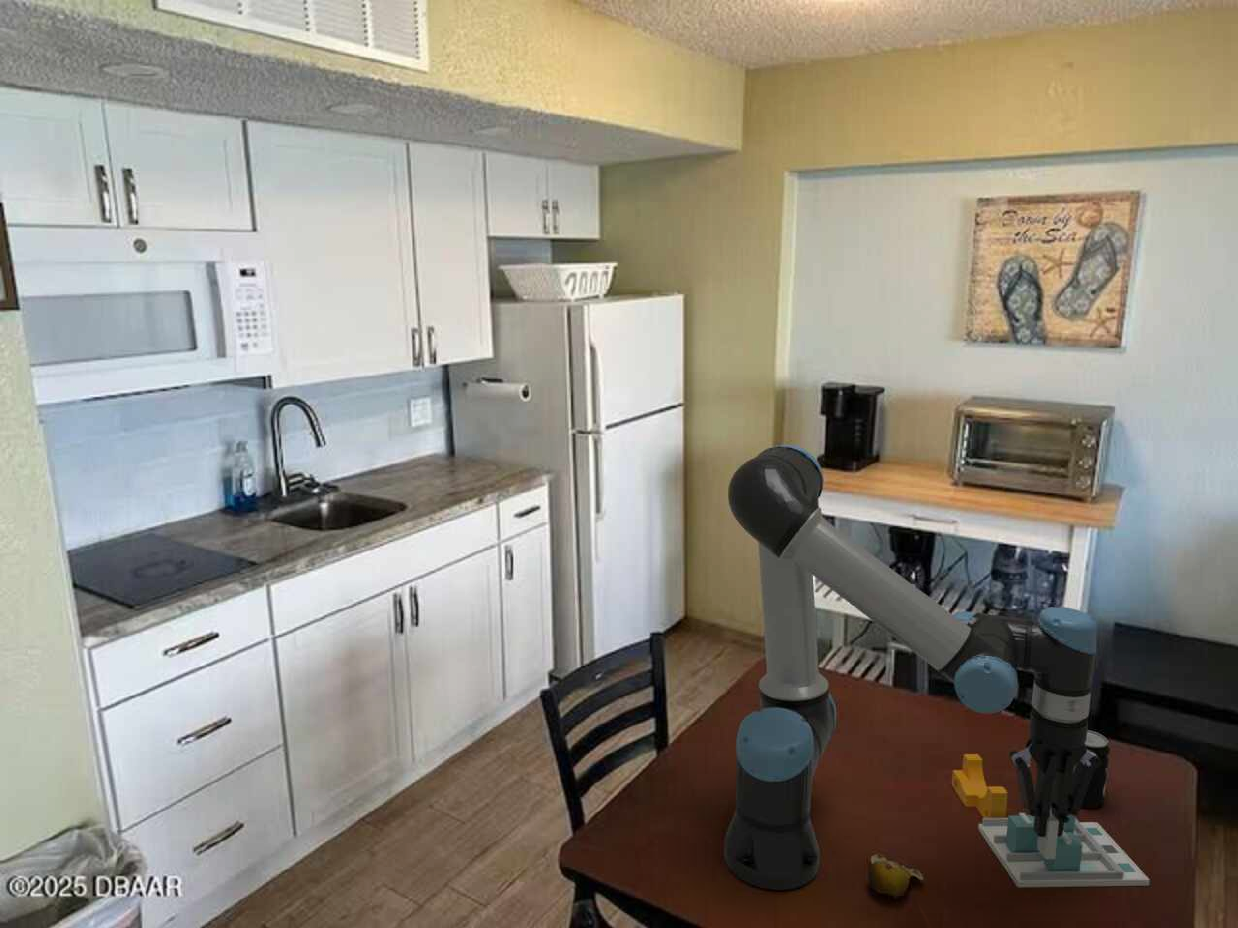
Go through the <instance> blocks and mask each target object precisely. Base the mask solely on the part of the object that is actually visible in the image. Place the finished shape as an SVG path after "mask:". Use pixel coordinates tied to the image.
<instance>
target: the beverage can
mask: <svg viewBox="0 0 1238 928" xmlns="http://www.w3.org/2000/svg"><path fill="white" fill-rule="evenodd" d="M1108 744H1109V742H1108V739H1107V738H1106V737H1105V736H1104V735H1102V734H1101V733H1099V732H1096V731H1093V730H1090V729H1087V738H1086V742H1085V745H1086V747H1087V750H1091V751H1092V752H1093V753H1095V754H1096V755H1097V756H1098V757H1099V758H1100V759H1101V761H1102V763H1101V764H1100V766H1099V767H1098V768H1097V769H1096V770H1095V772H1094V773H1093V776H1092V778H1091V781H1090V784H1089V786H1088V789H1087V792H1086V794H1085V797H1084V800H1083V802H1082V805H1081V808H1083V809H1095V808H1097V807H1100V806H1101V805H1103V804H1104V801H1105V794H1106V784H1107V777H1108V770H1109V769H1108V768H1109V760H1110V753H1111V750H1110V747H1109V745H1108ZM1075 767H1076V765H1075V766H1074V767H1073V772H1074V770H1075ZM1070 781H1071V779H1070Z"/></svg>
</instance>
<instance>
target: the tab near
mask: <svg viewBox="0 0 1238 928" xmlns="http://www.w3.org/2000/svg"><path fill="white" fill-rule="evenodd" d="M1082 846H1083V845H1082V844H1081V843H1080V841H1079V840H1078V839H1077V838H1076V837H1075V835H1074V834H1073V833H1072V832H1067V833H1065V832H1064V831H1063V834H1062V836H1061V837H1057V846H1056V856H1055V859H1045V858H1043V862H1044V863H1045V864H1046V866H1047V867H1048V868H1049V870H1050V871H1080V863H1081V855H1082Z"/></svg>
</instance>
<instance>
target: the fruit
mask: <svg viewBox="0 0 1238 928" xmlns="http://www.w3.org/2000/svg"><path fill="white" fill-rule="evenodd" d="M870 863H871V866H870V869H869V870H868V877H867V878H868V881H869V882H868V883H869V886H870V888H871V890H872V891H873V892H876V893H879V894H886V895H888V896H892V897H893V898H898V897H902V896H904V895H905V892H906V891H907V890H908V887H909V885H910V879H911V878H912V877H916V878H917V879H918V880H919V882H923V881H924V876H923V875H922V873H921V872H920V871H919V870H918V869H916V868H915V869H913V868H910V869H909V868H907V867H905V866H904V865H902V866H901V865H900V864H899V863H897V862H894V861H892V860H890V859H889V860H888V859H886V857H885V855H882V854H881V853H880V854H878V853H876V854H874V855H871V856H870Z"/></svg>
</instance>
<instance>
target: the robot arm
mask: <svg viewBox="0 0 1238 928" xmlns="http://www.w3.org/2000/svg"><path fill="white" fill-rule="evenodd" d="M824 481H825V480H824V472H823V468H822V466H821V465H820V463H819V461H818V460H817V458H816V457H815V456H813V454H812V453H811V452H809V451H808V450H806V449H804V448H803V447H800V446H797V445H792V444H781V445H776V446H770V447H769V448H766V449H764V450H763V451H761V452H759V454H757V456H755V457H754V458H752V459H751V458H750V459H749V460H747V461H745V462H744V463H743V464H742V465H740V467H738V469H737V470H736V471H734V474H733V475H732V477H731V479H730V481H729V484H728V490H727V497H728V499H727V500H728V504H729V509H730V511H731V513H732V515H733V517H734V519H735V520H736V522H737V523H738V524H739V525H740V526H741V528H742V529H743V530H744V531H746V533H748V534H749V535H750V536H751V537H752V538H753V539H754V540H756V541H757V542H758V543H757V544H758V556H759V569H760V570H759V571H760V572H759V573H760V585H761V586H760V588H761V601H762V615H763V629H764V633H763V634H764V644H765V645H764V646H765V660H766V662H765V663H766V672H767V673H766V674H764V676H763V677H762V678H761V679H760V680H759V681H758V682H759V683H758V687H759V689H758V690H759V703H760V711H757V710H755V711H753V712H751V713H749V714H748V715H747V716H746V717H745V718H744V719H742V721H741V723H740V725H739V728H738V731H737V737H736V741H735V744H736V745H735V754H736V776H735V777H736V780H735V781H736V783H735V785H736V786H735V811H734V813H733V815H732V819H731V820H730V823H729V825H728V828H727V831H726V832H725V833H726V834H725V837H724V840H723V857H724V861H725V863H726V866H727V867H728V868H729V870H730V872H731V873H733V874H734V875H735V876H736V877H737V878H739V879H740V880H741V881H744V883H747V884H750V885H752V886H755V887H757V888H761V889H765V890H766V889H767V890H774V891H785V890H787V891H788V890H792V889H796V888H800V887H802V886H804V885H806V884H808V883H810V881H812V880H813V879H815V877H816V875H817V874H818V873H819V867H820V855H821V854H820V847H819V843H818V840H817V836H816V834H815V830H814V827H813V824H812V821H811V799H812V797H811V796H812V782H813V777H814V775H815V772H816V769H817V767H818V766H819V762H820V760H821V758H822V757H823V754H824V752H825V750H826V747H827V745H828V743H829V742H830V741H831V739H832V737H833V734H834V731H835V730H836V726H837V725H836V724H837V709H836V704H835V702H834V699H833V697H832V695H831V694H830V691H829V689H830V688H829V682H828V679H827V678H826V677H825V676H823V675H822V674H821V673H820V672H819V658H818V657H819V656H818V654H819V653H818V638H817V622H816V605H815V590H814V589H815V588H814V585H815V584H814V577H815V578H816V579H817V580H818V581H819V582H821V583H823V584H824V585H825V586H827V587H828V588H829V589H831V590H832V591H833V592H834V593H836V594H837V595H838V596H839V597H841V598H842V599H843V600H845V601H846V602H847V603H849V604H850V605H851V606H853V607H854V608H855V609H857V611H859V612H861V613H862V614H863V615H865V616H866V617H867V618H869V619H870V620H871V621H872V622H874V624H876V625H878V627H881V628H882V629H883V630H884V631H885V632H887V633H888V634H889V635H891V637H893V638H894V639H896V640H897V641H898V642H900V643H902V644H903V646H905V647H907V649H909V650H910V651H911V652H913V653H915V655H917V656H918V657H920V658H921V659H922V660H923V661H925V662H926V663H927V664H929V665H930V666H931V667H933V668H934V669H935V670H936V671H938V672H939V673H940V674H941V675H943V676H944V677H945V678H947V679H948V680H949V681H950V682H952V684H953V685H954V686H953V687H954V691H955V693H956V695H957V697H958V699H959V700H960V702H961V703H962V704H963V705H964V706H965V707H966V708H968V709H970V710H971V711H974V712H977V713H980V714H985V715H986V714H994V713H995V714H996V713H999V712H1002V711H1003V710H1005V709H1006V708H1007V707H1009V706H1010V705H1011V703H1012V702H1013V700H1014V697H1015V694H1016V690H1017V688H1018V682H1019V681H1018V671H1017V670H1019V671H1024V672H1033V673H1034V675H1033V676H1034V678H1033V686H1032V688H1033V689H1032V695H1031V696H1032V698H1031V706H1032V707H1031V710H1030V718H1029V720H1030V721H1029V738H1028V740H1027V741H1026V743H1025V748H1024V749H1022V750H1020V751H1018V752H1017V751H1015V750H1012V751H1010V753H1009V757H1010V760H1011V761H1012V762H1013V763H1014V765H1015V771H1016V776H1017V782H1018V788H1019V792H1020V798H1021V803H1022V806H1023V807H1024V809H1025V810H1026V811H1027V813H1028V815H1031V816H1034V831H1035V832H1036V834H1037V835H1038V840H1037V849H1038V850H1039V851H1040V853H1041V854H1042V855H1043V857H1044V858H1045V859H1055V856H1056V846H1057V837H1061V836H1062V834H1063V826H1064V823H1067V822H1068V821H1069V818H1068V817H1067V816H1068V815H1071V814H1072V815H1073V816H1075V817H1077V815H1079V813H1080V810H1081V808H1082V807H1081V805H1082V802H1083V800H1084V797H1085V794H1086V792H1087V789H1088V786H1089V784H1090V781H1091V778H1092V776H1093V773H1094V772H1095V770H1096V769H1097V768H1098V767H1099V766H1100V764H1101V763H1102V761H1101V759H1100V758H1099V757H1098V756H1097V755H1096V754H1095V753H1093V752H1092V751H1091V750H1087V747H1086V745H1085V742H1086V738H1087V730H1088V728H1089V727H1088V726H1089V719H1088V717H1089V713H1090V707H1091V705H1090V704H1091V694H1092V686H1093V679H1094V678H1093V677H1094V669H1095V663H1096V655H1097V638H1098V637H1097V634H1098V631H1097V630H1098V624H1097V622H1096V620H1095V619H1094V618H1093V617H1092V616H1091V615H1090V614H1088V613H1086V612H1084V611H1082V610H1078V609H1076V608H1071V607H1064V606H1063V607H1062V606H1060V607H1054V606H1053V607H1051V606H1050V607H1046V608H1044V609H1043V610H1041V612H1040V613H1039V616H1038V618H1037V620H1036V619H1032V620H1030V619H1025V618H1024V619H1023V618H1017V617H1010V616H1002V615H997V614H989V613H984V612H982V611H963V610H960V611H956V612H954V613H951V612H950V611H948V610H947V609H946V608H945V607H943V606H942V605H940V604H939V603H938V602H936V601H935V600H934V599H933V598H931V597H929V595H927V594H926V593H924V591H921V590H920V589H919V588H918V587H916V586H915V585H913V584H912V583H911V582H910V581H908V580H907V579H905V578H904V577H903V576H901V575H900V574H899V573H898V572H896V571H895V570H893V569H892V568H890V567H889V566H888V565H887V564H885V563H884V562H883V561H881V560H880V559H878V558H877V557H876V556H875V555H873V554H872V553H871V552H869V551H868V550H866V549H865V548H864V547H862V546H861V545H859V544H858V543H857V541H854V540H853V539H851V538H850V537H849V536H848V535H846V534H845V533H843V532H842V531H841V530H840V529H838V528H837V527H835V526H834V525H833V524H831V523H830V522H829V521H827V520H826V519H825V518H824V517H823V512H822V509H821V507H820V506H819V504H820V503H819V498H820V497H821V495H822V494H823V490H824V489H823V488H824V484H825V483H824ZM1031 758H1032V759H1033V761H1034V762H1035V769H1036V777H1035V779H1036V780H1035V788H1034V783H1033V782H1034V781H1033V776H1032V773H1031V769H1030V767H1031V766H1032V764H1031ZM1075 765H1076V767H1075V770H1074V772H1073V767H1074V766H1075ZM1070 779H1071V781H1070ZM1050 807H1051V809H1052V812H1051V811H1050Z"/></svg>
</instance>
